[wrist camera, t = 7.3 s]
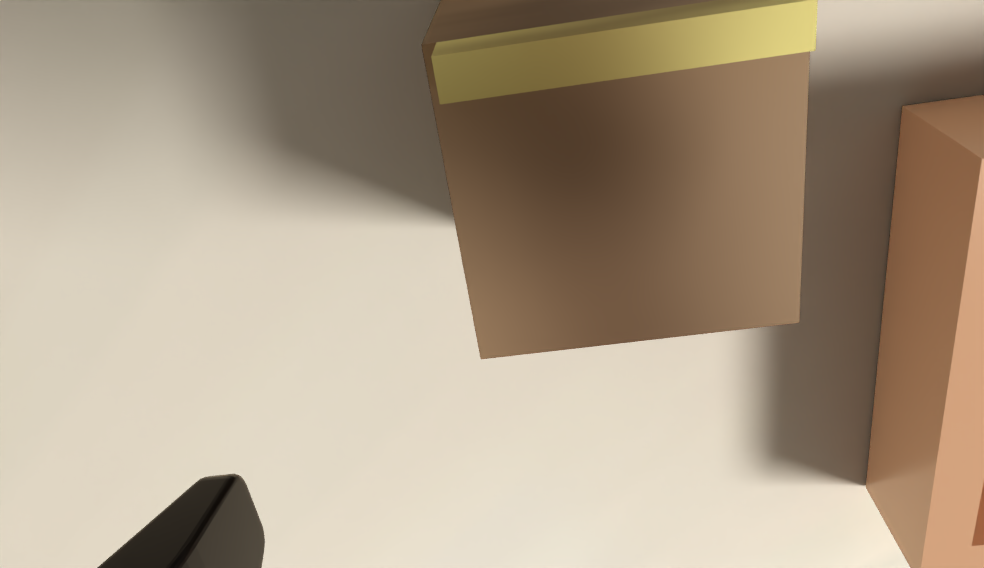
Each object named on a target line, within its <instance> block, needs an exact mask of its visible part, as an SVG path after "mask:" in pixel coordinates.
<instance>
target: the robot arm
mask: <svg viewBox="0 0 984 568" xmlns="http://www.w3.org/2000/svg"><path fill="white" fill-rule="evenodd" d="M264 546H265V539H264V531H263V527H262V524H261V521H260V519H259V516H258V513H257V511H256V508H255V506H254V503H253V501H252V498H251V495H250V493H249V490H248V488H247V485H246V483H245V481H244V480H243V478H242V477H241V476H239V475H236V474H227V475H217V476H208V477H204V478H202V479H200V480H199V481H197V482H196V483H195V484H194V485H192V486H191V487H190V488H189V489H188V490H187V491H186V492H184V493H183V494H182V495H181V496H180V497H179V498H177V499H176V500H175V501H174V502H173V503H172V504H171V505H169V506H168V507H167V508H166V509H165V510H164V511H162V512H161V513H160V514H159V515H158V516H157V517H155V518H154V519H153V520H152V521H151V522H150V523H149V524H147V525H146V526H145V527H144V528H143V529H142V530H140V531H139V532H138V533H137V534H136V535H135V536H134V537H132V538H131V539H130V540H129V541H128V542H127V543H125V544H124V545H123V546H122V547H121V548H120V549H118V550H117V551H116V552H115V553H114V554H113V555H112V556H110V557H109V558H108V559H107V560H106V561H105V562H103V563H102V564H101V565H100V566H99V567H98V568H261V567H262V561H263V554H264Z"/></svg>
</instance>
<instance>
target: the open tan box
mask: <svg viewBox="0 0 984 568" xmlns="http://www.w3.org/2000/svg"><path fill="white" fill-rule="evenodd" d="M866 489H867V490H868V492H869V494H870V496H871V498H872V499H873V501H874V503H875V505H876V507H877V508H878V510H879V512H880V514H881V516H882V517H883V519H884V521H885V523H886V525H887V526H888V528H889V530H890V532H891V534H892V535H893V537H894V539H895V541H896V542H897V544H898V546H899V548H900V550H901V551H902V553H903V555H904V557H905V559H906V560H907V562H908V564H909V566H910V568H984V95H978V96H970V97H963V98H956V99H949V100H941V101H934V102H927V103H920V104H912V105H905V106H902V115H901V126H900V136H899V146H898V157H897V167H896V178H895V188H894V198H893V209H892V219H891V230H890V240H889V251H888V261H887V271H886V282H885V292H884V303H883V313H882V323H881V334H880V344H879V355H878V365H877V376H876V386H875V396H874V407H873V417H872V428H871V438H870V448H869V459H868V469H867V480H866Z"/></svg>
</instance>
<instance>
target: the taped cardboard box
mask: <svg viewBox="0 0 984 568" xmlns="http://www.w3.org/2000/svg"><path fill="white" fill-rule="evenodd" d="M816 24H817V0H441V1H440V4H439V6H438V8H437V10H436V13H435V15H434V17H433V19H432V22H431V24H430V26H429V29H428V31H427V33H426V35H425V38H424V40H423V42H422V44H421V45H422V51H423V56H424V61H425V66H426V72H427V77H428V82H429V88H430V93H431V98H432V103H433V109H434V114H435V119H436V125H437V130H438V135H439V141H440V146H441V151H442V156H443V162H444V167H445V172H446V178H447V183H448V188H449V193H450V199H451V204H452V209H453V215H454V220H455V225H456V231H457V236H458V241H459V246H460V252H461V257H462V262H463V268H464V273H465V278H466V284H467V289H468V294H469V299H470V305H471V310H472V315H473V321H474V326H475V331H476V336H477V342H478V347H479V352H480V358H481V359H487V358H496V357H505V356H513V355H522V354H531V353H540V352H548V351H557V350H566V349H574V348H583V347H592V346H601V345H609V344H618V343H627V342H635V341H644V340H653V339H662V338H670V337H679V336H688V335H696V334H705V333H714V332H723V331H731V330H740V329H749V328H757V327H766V326H775V325H784V324H792V323H799V318H800V292H801V266H802V240H803V215H804V189H805V163H806V137H807V111H808V86H809V60H810V51H815V48H816Z"/></svg>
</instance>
